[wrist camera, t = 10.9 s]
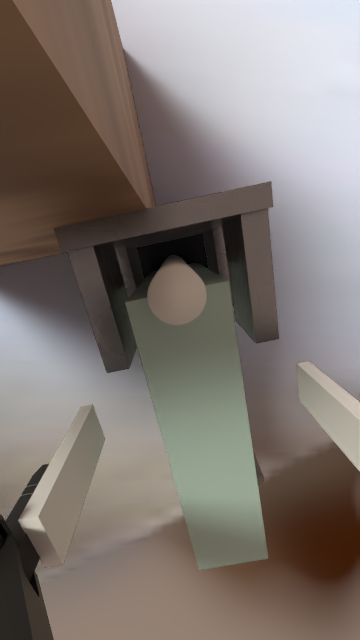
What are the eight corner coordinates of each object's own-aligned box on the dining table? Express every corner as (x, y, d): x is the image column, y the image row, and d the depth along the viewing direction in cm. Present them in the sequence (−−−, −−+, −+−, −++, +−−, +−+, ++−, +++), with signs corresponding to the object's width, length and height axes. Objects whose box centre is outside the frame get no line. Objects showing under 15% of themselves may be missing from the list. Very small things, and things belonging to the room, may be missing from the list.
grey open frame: (140, 309, 21) (103, 379, 10) (122, 240, 20) (53, 228, 8) (223, 292, 21) (284, 343, 10) (212, 220, 20) (271, 181, 8)
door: (186, 423, 25) (201, 594, 13) (148, 260, 20) (111, 279, 8) (235, 414, 25) (298, 577, 13) (208, 247, 20) (268, 246, 8)
